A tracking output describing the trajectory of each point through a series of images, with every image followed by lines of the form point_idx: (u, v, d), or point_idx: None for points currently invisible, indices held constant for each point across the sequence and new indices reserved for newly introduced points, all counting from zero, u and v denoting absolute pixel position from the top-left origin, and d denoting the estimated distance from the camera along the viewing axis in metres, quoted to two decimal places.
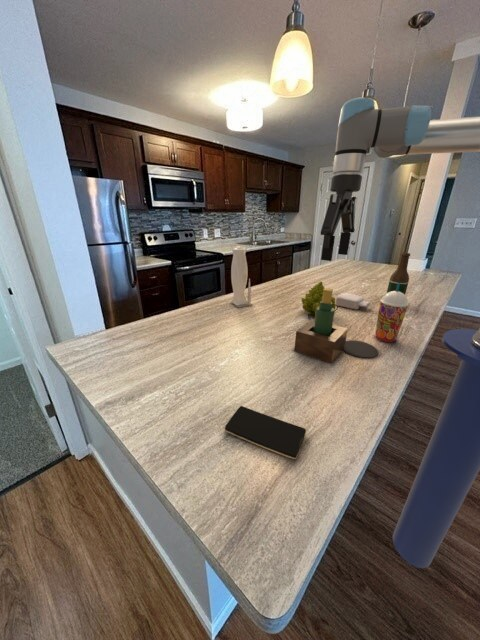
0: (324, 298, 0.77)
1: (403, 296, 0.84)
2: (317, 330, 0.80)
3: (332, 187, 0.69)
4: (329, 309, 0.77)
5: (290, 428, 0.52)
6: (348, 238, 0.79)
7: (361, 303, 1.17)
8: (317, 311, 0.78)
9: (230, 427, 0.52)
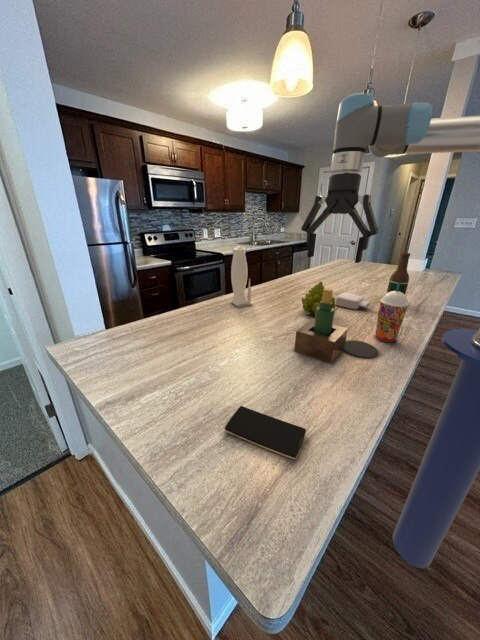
0: (324, 298, 0.77)
1: (403, 296, 0.84)
2: (317, 330, 0.80)
3: (351, 186, 0.64)
4: (329, 309, 0.77)
5: (290, 428, 0.52)
6: (315, 239, 0.77)
7: (361, 303, 1.17)
8: (317, 311, 0.78)
9: (230, 427, 0.52)
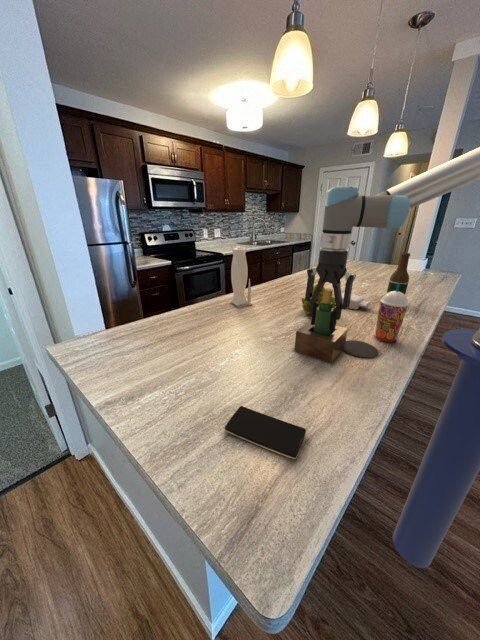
0: (324, 298, 0.77)
1: (403, 296, 0.84)
2: (317, 330, 0.80)
3: (339, 262, 0.70)
4: (329, 309, 0.77)
5: (290, 428, 0.52)
6: None
7: (361, 303, 1.17)
8: (317, 311, 0.78)
9: (230, 427, 0.52)
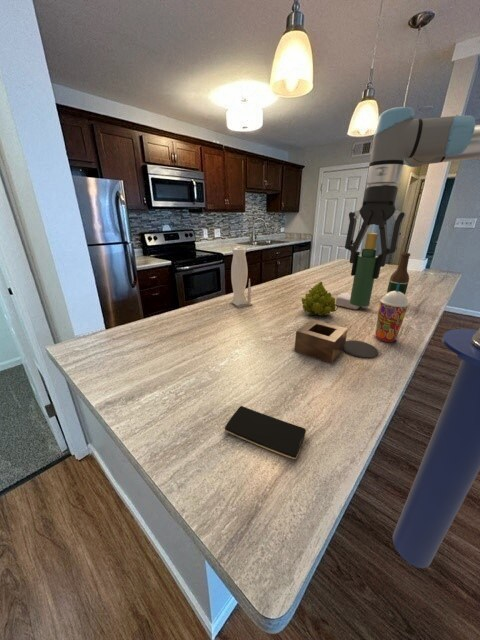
0: (368, 243, 0.71)
1: (403, 296, 0.84)
2: (359, 280, 0.74)
3: (389, 198, 0.64)
4: (373, 255, 0.71)
5: (290, 428, 0.52)
6: None
7: None
8: (360, 258, 0.72)
9: (230, 427, 0.52)
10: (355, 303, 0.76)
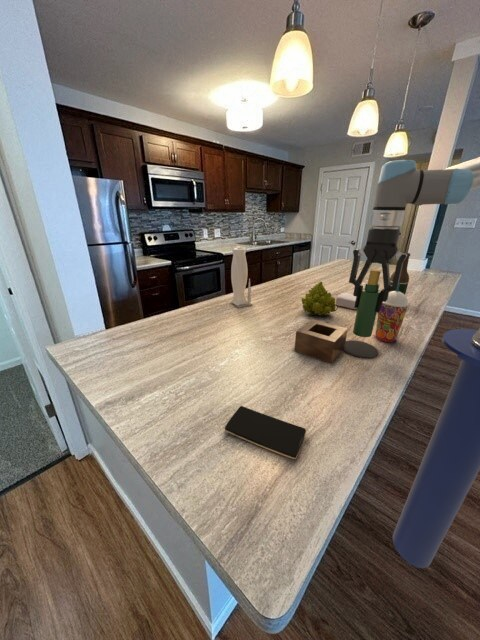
0: (371, 279, 0.75)
1: (403, 296, 0.84)
2: (362, 313, 0.78)
3: (392, 241, 0.68)
4: (376, 291, 0.75)
5: (290, 428, 0.52)
6: None
7: None
8: (363, 293, 0.76)
9: (230, 427, 0.52)
10: (358, 334, 0.80)
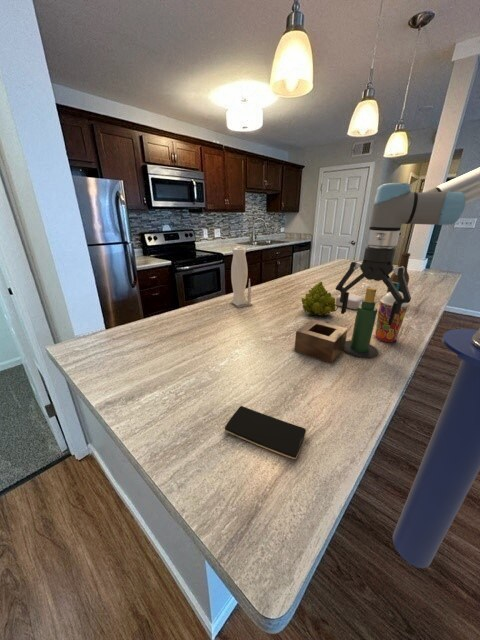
0: (367, 297, 0.77)
1: None
2: (359, 329, 0.80)
3: (388, 259, 0.70)
4: (372, 308, 0.77)
5: (290, 428, 0.52)
6: None
7: (361, 303, 1.17)
8: (359, 310, 0.78)
9: (230, 427, 0.52)
10: (355, 349, 0.82)
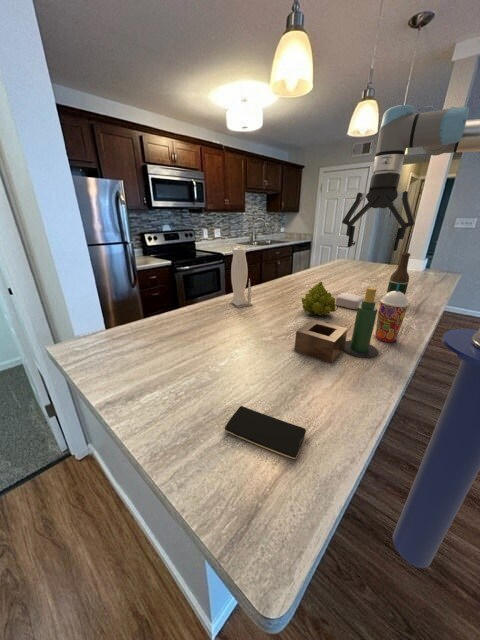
0: (367, 297, 0.77)
1: (403, 296, 0.84)
2: (359, 329, 0.80)
3: (393, 184, 0.74)
4: (372, 308, 0.77)
5: (290, 428, 0.52)
6: None
7: (361, 303, 1.17)
8: (359, 310, 0.78)
9: (230, 427, 0.52)
10: (355, 349, 0.82)
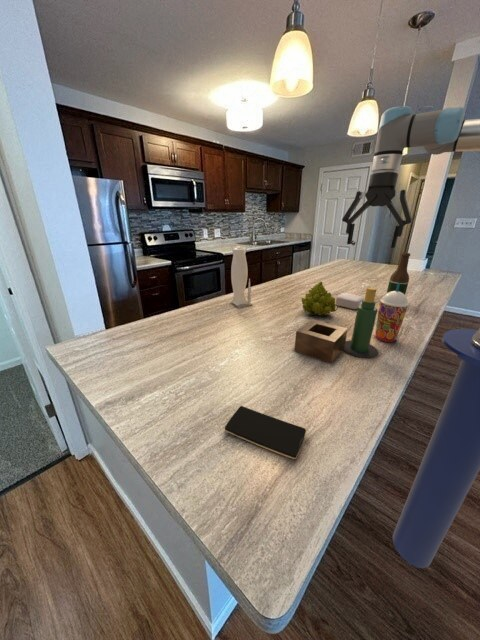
0: (367, 297, 0.77)
1: (403, 296, 0.84)
2: (359, 329, 0.80)
3: (391, 182, 0.76)
4: (372, 308, 0.77)
5: (290, 428, 0.52)
6: (353, 228, 0.89)
7: (361, 303, 1.17)
8: (359, 310, 0.78)
9: (230, 427, 0.52)
10: (355, 349, 0.82)
